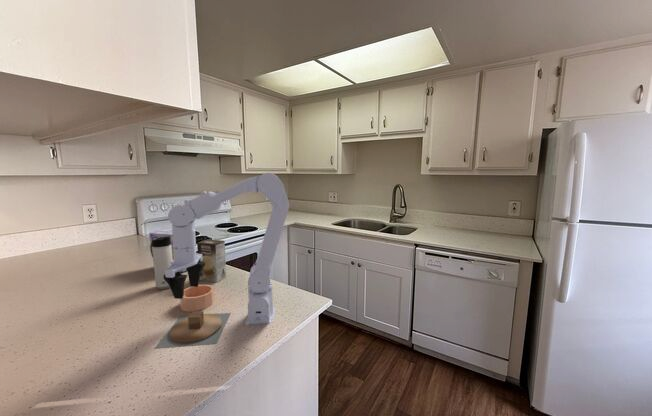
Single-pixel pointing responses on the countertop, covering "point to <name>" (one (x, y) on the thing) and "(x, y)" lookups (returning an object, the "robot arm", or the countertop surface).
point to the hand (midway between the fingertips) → (186, 291)
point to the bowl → (197, 298)
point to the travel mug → (161, 260)
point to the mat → (213, 339)
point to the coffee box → (212, 259)
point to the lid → (195, 327)
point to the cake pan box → (162, 234)
